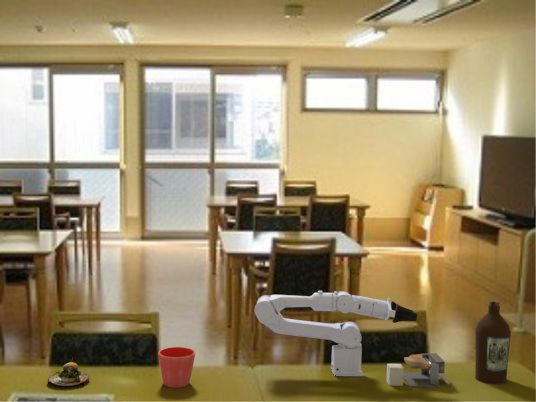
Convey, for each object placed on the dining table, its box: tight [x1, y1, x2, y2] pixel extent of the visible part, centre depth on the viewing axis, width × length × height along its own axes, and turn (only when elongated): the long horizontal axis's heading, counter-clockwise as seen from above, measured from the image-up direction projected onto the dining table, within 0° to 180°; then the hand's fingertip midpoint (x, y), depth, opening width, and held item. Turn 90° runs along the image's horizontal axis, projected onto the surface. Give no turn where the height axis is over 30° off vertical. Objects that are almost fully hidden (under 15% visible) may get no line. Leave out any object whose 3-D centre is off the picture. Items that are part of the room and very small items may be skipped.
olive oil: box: [474, 299, 512, 385], centre depth 219 cm, size 11×11×25 cm
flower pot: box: [157, 346, 196, 388], centre depth 209 cm, size 11×11×10 cm
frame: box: [420, 353, 451, 388], centre depth 217 cm, size 6×12×7 cm, turn 2°
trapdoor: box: [403, 352, 446, 374], centre depth 217 cm, size 10×9×4 cm
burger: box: [47, 357, 90, 387], centre depth 208 cm, size 12×12×8 cm
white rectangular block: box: [386, 363, 405, 387], centre depth 214 cm, size 4×4×6 cm
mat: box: [403, 371, 440, 388], centre depth 217 cm, size 9×13×1 cm
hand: (414, 315), depth 220 cm, fingers open, 7 cm apart
